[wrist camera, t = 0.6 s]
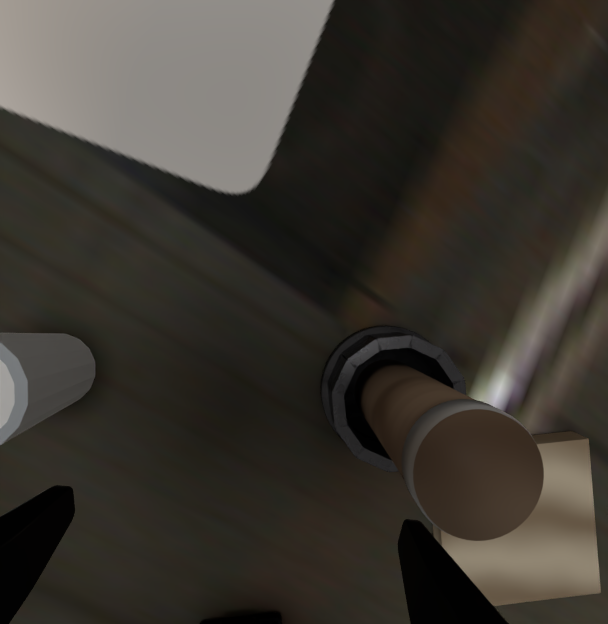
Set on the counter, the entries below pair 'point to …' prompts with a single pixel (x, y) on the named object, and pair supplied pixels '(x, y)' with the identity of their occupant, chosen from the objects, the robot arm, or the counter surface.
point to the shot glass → (40, 378)
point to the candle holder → (354, 360)
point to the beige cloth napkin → (541, 535)
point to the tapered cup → (452, 451)
